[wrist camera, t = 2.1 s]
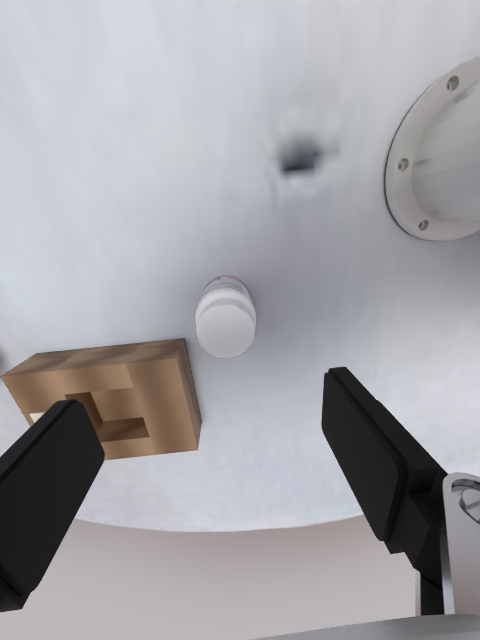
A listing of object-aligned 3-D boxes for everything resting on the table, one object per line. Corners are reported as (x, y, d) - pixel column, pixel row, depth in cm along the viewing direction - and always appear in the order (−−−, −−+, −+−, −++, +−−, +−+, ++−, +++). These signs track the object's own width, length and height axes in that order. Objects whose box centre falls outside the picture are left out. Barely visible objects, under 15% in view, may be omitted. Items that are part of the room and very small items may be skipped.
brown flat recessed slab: (184, 338, 24) (176, 358, 20) (201, 421, 28) (197, 450, 25) (36, 353, 24) (-1, 377, 20) (76, 434, 28) (53, 466, 24)
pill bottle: (246, 321, 24) (256, 366, 16) (201, 318, 23) (188, 362, 15) (252, 277, 22) (265, 302, 14) (203, 272, 21) (189, 296, 14)
